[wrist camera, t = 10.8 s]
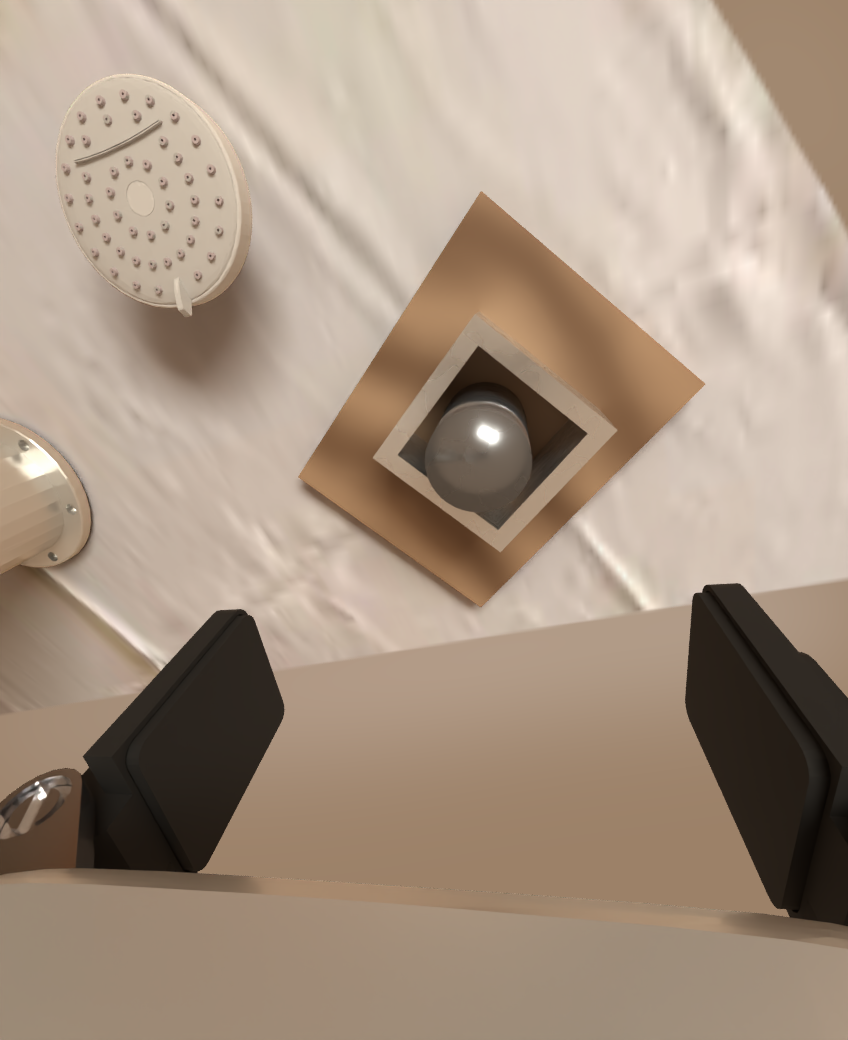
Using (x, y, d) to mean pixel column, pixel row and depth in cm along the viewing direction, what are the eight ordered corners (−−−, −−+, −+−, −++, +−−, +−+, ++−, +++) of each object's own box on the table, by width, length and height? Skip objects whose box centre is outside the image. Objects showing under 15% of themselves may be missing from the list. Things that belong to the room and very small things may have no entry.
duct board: (481, 596, 37) (477, 652, 31) (306, 470, 35) (265, 505, 29) (695, 379, 28) (745, 400, 23) (482, 196, 26) (476, 167, 20)
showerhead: (109, 343, 25) (-4, 114, 22) (190, 334, 32) (113, 157, 28) (266, 287, 23) (168, 21, 19) (319, 290, 29) (253, 91, 26)
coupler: (528, 458, 30) (535, 507, 23) (450, 466, 31) (433, 516, 24) (522, 376, 28) (528, 402, 21) (438, 388, 29) (416, 417, 22)
